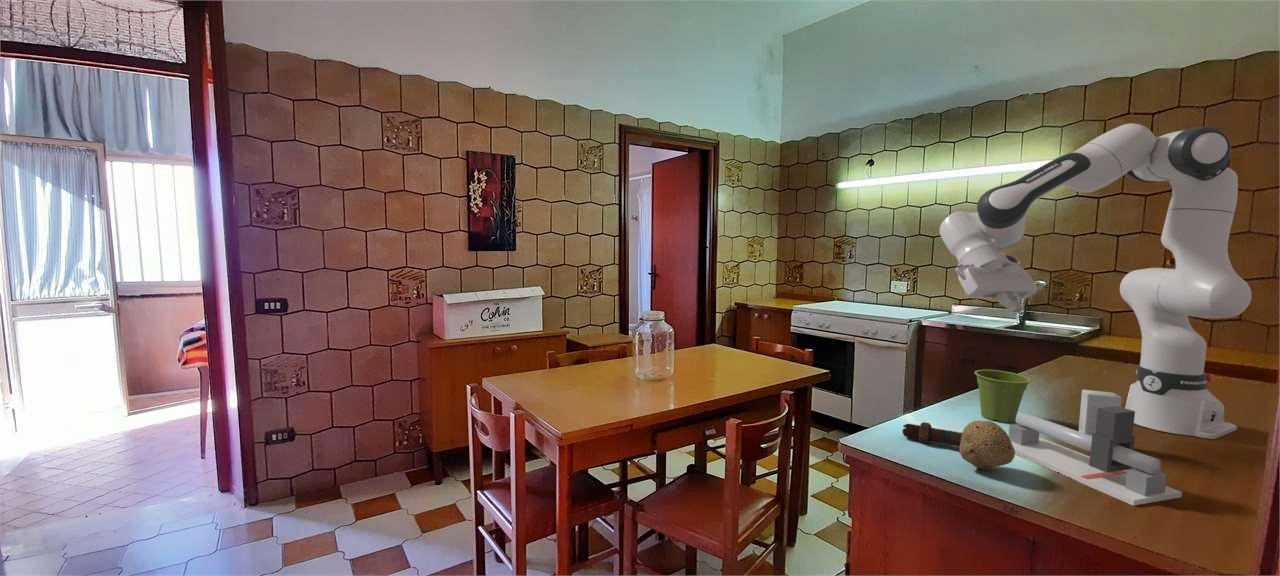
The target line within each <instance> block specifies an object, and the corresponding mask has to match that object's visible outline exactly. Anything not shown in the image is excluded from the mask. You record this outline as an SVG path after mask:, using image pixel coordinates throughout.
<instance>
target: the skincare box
mask: <svg viewBox="0 0 1280 576" xmlns="http://www.w3.org/2000/svg"><path fill="white" fill-rule="evenodd" d="M1122 401H1123V397H1121V396H1120V395H1119V394H1118V393H1115V392H1111V391H1100V390H1091V389H1090V390H1089V389H1082V390H1081V399H1080V410H1079V411H1080V412H1079V419H1078V420H1079V423H1078V431H1079V432H1082V433H1085V434H1087V435H1090V436H1092V434H1094V433H1095V431H1096V421H1097V411H1098V408H1104V407H1114V406H1118V407H1122V404H1123V403H1122Z"/></svg>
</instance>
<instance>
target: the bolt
mask: <svg viewBox="0 0 1280 576" xmlns="http://www.w3.org/2000/svg"><path fill="white" fill-rule="evenodd" d="M902 426H903V428H902V435H903V437H906V438H911V439H915V440H918V442H919V443H920V444H923V445H929V444H930V443H931V442H932V443H937V444H942V445H948V446H953V447H959V448H960V442H961V437H962V433H963V432H960V431H953V430H949V429H943V428H935V427H932V425H931V424H930V422H926V421H924V422H921V423H920V425H919V424H912V423H906V424H903V425H902Z"/></svg>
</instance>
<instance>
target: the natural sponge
mask: <svg viewBox="0 0 1280 576" xmlns="http://www.w3.org/2000/svg"><path fill="white" fill-rule="evenodd" d="M961 433H962V437H961V442H960V447H959V454H960V456H961V458H962V459H963V460H964V461H966V462H967V463H969V464H971V465H972V466H973V467H975V468H976V469H979V470H983V471H985V470H991V469H992V468H995V467H1001V466H1005V465H1008V464H1011V463H1012V462H1013V460H1014V458H1015V455H1016V454H1015V450H1014V447H1013V446H1012V443H1011V441H1010V438H1009V434H1007V432H1006V431H1005V430H1004V429H1003V428H1002V426H1000V425H999V424H997V423H995V422H993V421H992V420H973V421H971V422H970V423H968V424H966V426H965V427H964V429H963V431H962V432H961Z"/></svg>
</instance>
